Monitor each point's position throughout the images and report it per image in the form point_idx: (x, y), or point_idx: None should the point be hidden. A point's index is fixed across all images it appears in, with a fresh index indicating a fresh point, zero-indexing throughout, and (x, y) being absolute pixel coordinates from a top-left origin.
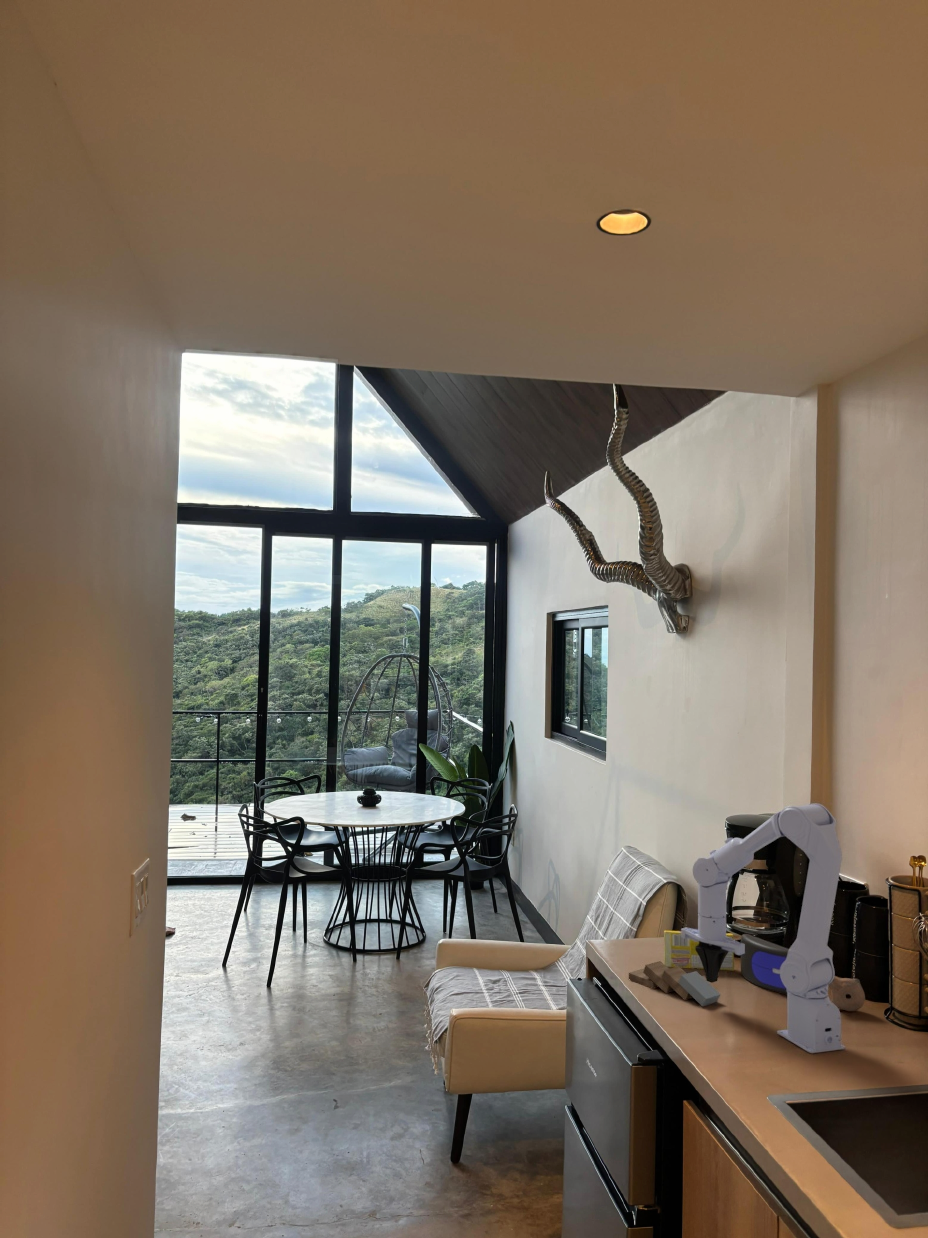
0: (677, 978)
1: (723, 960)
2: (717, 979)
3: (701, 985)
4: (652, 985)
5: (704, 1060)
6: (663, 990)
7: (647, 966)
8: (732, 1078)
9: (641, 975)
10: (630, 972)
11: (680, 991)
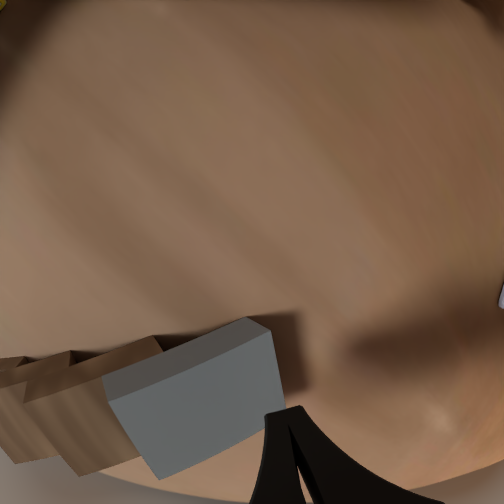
0: (117, 448)
1: (378, 477)
2: (306, 412)
3: (216, 413)
4: None
5: (439, 474)
6: None
7: (20, 462)
8: (480, 453)
9: None
10: None
11: None
